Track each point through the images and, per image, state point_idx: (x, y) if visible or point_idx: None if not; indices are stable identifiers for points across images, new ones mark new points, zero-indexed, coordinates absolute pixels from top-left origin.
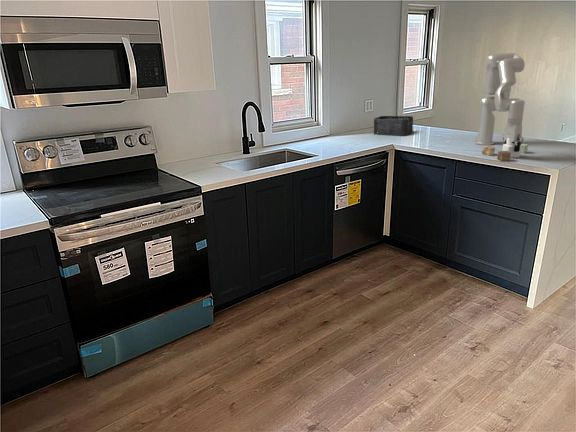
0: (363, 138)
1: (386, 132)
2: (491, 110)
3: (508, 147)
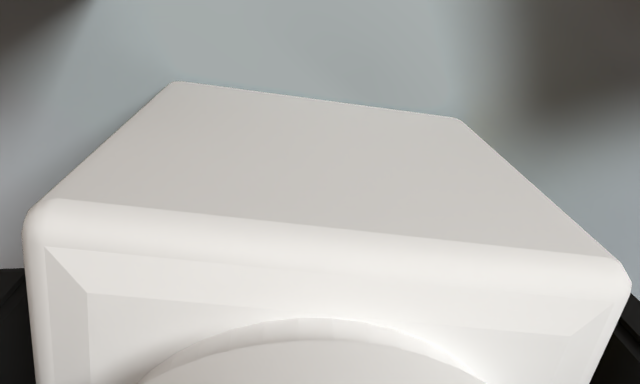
0: None
1: None
2: None
3: (73, 186)
